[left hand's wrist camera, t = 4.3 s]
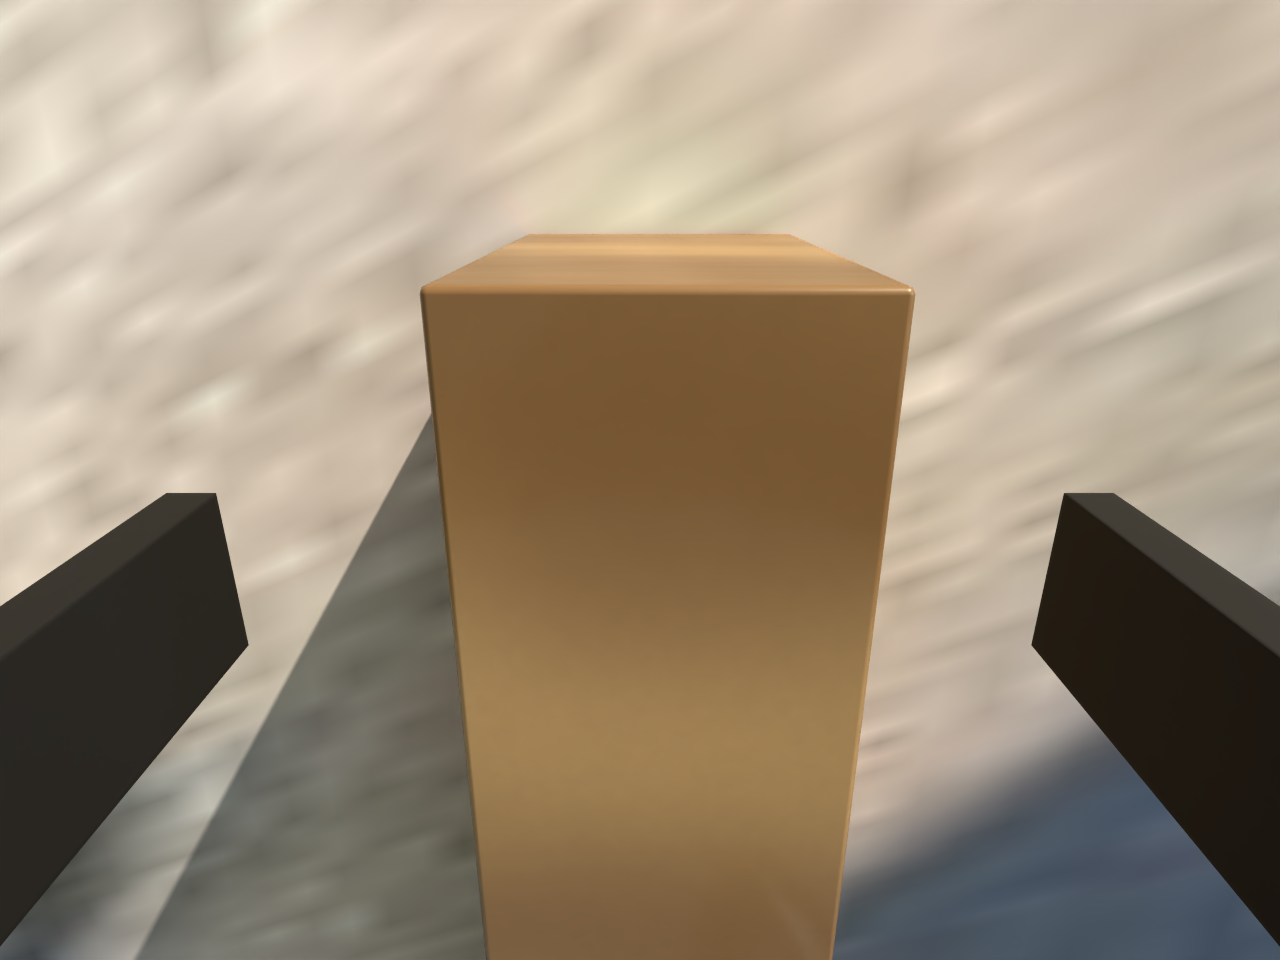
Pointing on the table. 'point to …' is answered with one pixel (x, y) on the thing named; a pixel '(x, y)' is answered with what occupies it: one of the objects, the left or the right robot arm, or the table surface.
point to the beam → (663, 581)
